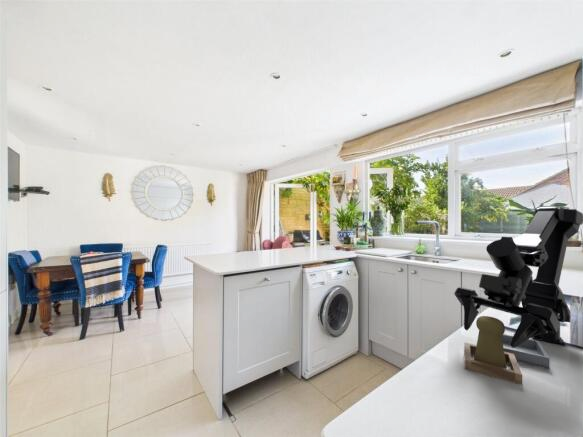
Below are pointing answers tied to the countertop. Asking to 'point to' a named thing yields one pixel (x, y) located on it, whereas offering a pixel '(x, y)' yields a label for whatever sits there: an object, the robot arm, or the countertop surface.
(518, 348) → the grey square tray
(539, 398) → the countertop surface
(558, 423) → the countertop surface
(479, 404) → the countertop surface
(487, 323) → the olive flared post
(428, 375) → the countertop surface
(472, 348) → the walnut collar
